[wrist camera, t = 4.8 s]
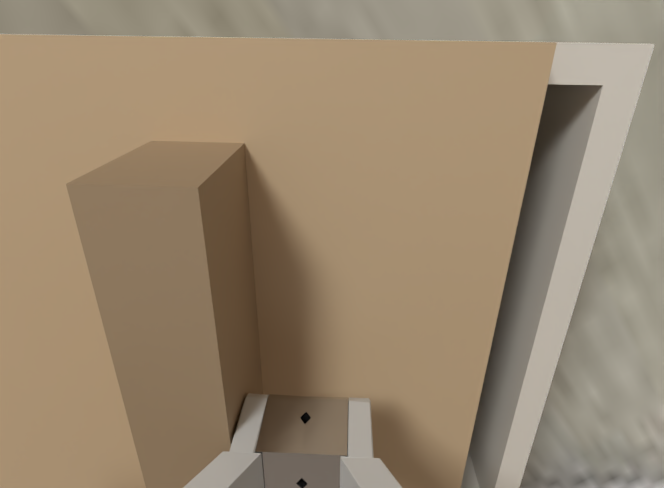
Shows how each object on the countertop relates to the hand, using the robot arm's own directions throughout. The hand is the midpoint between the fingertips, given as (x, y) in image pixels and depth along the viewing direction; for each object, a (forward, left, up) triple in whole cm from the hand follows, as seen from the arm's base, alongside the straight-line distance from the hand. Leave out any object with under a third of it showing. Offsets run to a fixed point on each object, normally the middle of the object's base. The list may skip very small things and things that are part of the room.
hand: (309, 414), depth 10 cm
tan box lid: (+6, 0, -2) cm, 7 cm away
